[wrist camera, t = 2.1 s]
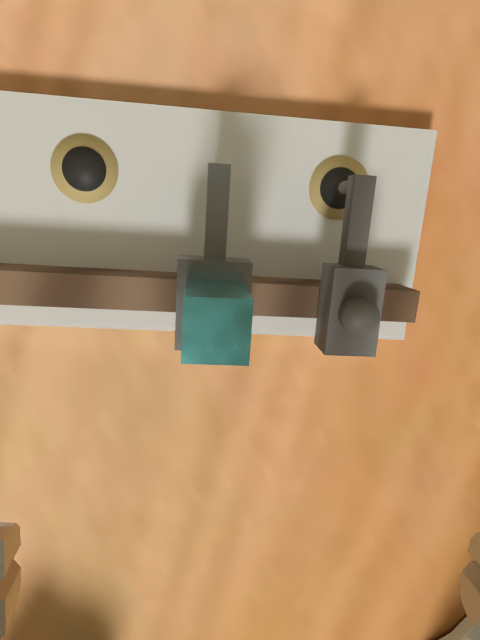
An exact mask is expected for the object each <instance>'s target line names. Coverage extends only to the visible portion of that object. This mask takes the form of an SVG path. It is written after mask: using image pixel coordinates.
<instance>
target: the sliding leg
mask: <svg viewBox="0 0 480 640" xmlns="http://www.w3.org/2000/svg"><path fill="white" fill-rule="evenodd" d="M230 175H231V164H219V163H208V173H207V194H206V216H205V238H204V256H198V255H180V254H179V256H178V259H177V289H176V320H175V350H181V364H208V365H241V366H249V358H250V345H251V332H252V318H253V305H254V299H253V297H252V296H251V285H252V271H253V263H252V262H251V261H250V260H249V259H248V258H234V257H226V245H227V227H228V210H229V193H230Z"/></svg>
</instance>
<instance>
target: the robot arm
mask: <svg viewBox="0 0 480 640" xmlns="http://www.w3.org/2000/svg"><path fill="white" fill-rule="evenodd" d="M20 545H21V542H20V527H19V526H18V525H17V524H16V523H4V522H0V639H1V638H2V637H3V636H4V635H5V634H6V632H7V630H8V628H9V625H10V623H11V621H12V618H13V615H14V612H15V608H16V604H17V601H18V597H19V591H20V583H21V567H20V566H19V565H18V564H17V562H16V561H15V560H14V557H15V555H16V553H17V551H18V549H19V547H20ZM468 552H469V554H470V556H471V558H472V560H473V561H472V562H471V563H470V564H469V565H468V566H467V567H466V568H465V569H464V570H463V571H462V575H461V580H460V585H459V589H460V595H461V602H462V605H463V608H464V610H465V612H466V615H467V617H465V618H464V619H463V620H462V621H461V622H460V623H459V624H458V625H457V627H456V628H455V629H454V630H453V631H452V632H450V633H449V634H447V635H446V636H444V637H442V638H441V639H439V640H480V532H477V533H476V534H475V535H474V536H473V537H472V539H471V541H470V545H469V548H468Z"/></svg>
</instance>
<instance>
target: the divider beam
mask: <svg viewBox="0 0 480 640" xmlns="http://www.w3.org/2000/svg"><path fill="white" fill-rule="evenodd" d="M376 179H377V176H371V175H359V174H355V175H350V176H348V180H347V181H342V182H341V183H340V184H339V186H338V190H339V192H340V193H341V194H346V201H345V209H344V218H343V226H342V235H341V243H340V252H339V260H338V263H323V266H322V276H321V280H316V279H297V278H278V277H259V276H252V285H251V296H252V297H253V299H254V305H253V316H274V317H297V318H317V321H316V330H315V339H314V343H315V344H316V346H317V347H318V348H319V349H320V350H321V351H322V352H323V354H324V355H338V356H368V357H375V355H376V349H377V342H378V335H379V328H380V321H391V322H414V323H415V319H416V313H417V307H418V301H419V295H420V291H417V290H414V289H412V288H409V287H406V286H403V285H401V284H393V283H386V280H387V273H388V271H387V270H384V269H381V268H378V267H375V266H372V265H365V262H366V254H367V247H368V239H369V232H370V224H371V217H372V209H373V202H374V194H375V186H376ZM176 289H177V272H163V271H144V270H125V269H106V268H87V267H68V266H49V265H29V264H10V263H0V305H17V306H41V307H64V308H87V309H111V310H134V311H157V312H176Z"/></svg>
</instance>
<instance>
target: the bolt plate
mask: <svg viewBox="0 0 480 640" xmlns="http://www.w3.org/2000/svg"><path fill="white" fill-rule="evenodd" d="M436 136H437V130H428V129H417V128H406V127H395V126H384V125H373V124H362V123H351V122H340V121H329V120H318V119H307V118H297V117H286V116H275V115H264V114H253V113H242V112H231V111H220V110H209V109H198V108H187V107H176V106H165V105H154V104H143V103H132V102H121V101H110V100H99V99H88V98H77V97H66V96H56V95H45V94H34V93H23V92H12V91H1V90H0V263H10V264H29V265H49V266H68V267H87V268H106V269H125V270H144V271H163V272H177V259H178V256H179V254H180V255H198V256H204V238H205V216H206V194H207V173H208V163H219V164H231V175H230V193H229V210H228V227H227V245H226V257H234V258H248V259H249V260H250V261H251V262H252V263H253V271H252V276H259V277H278V278H297V279H316V280H321V276H322V266H323V263H338V260H339V252H340V243H341V235H342V226H343V218H344V209H345V201H346V194H341V193H340V192H339V190H338V186H339V184H340V183H341V182H342V181H347V180H348V176H350V175H355V174H359V175H371V176H377V179H376V186H375V194H374V202H373V209H372V217H371V224H370V232H369V239H368V247H367V254H366V262H365V265H372V266H375V267H378V268H381V269H384V270H387V271H388V273H387V280H386V283H393V284H401V285H403V286H406V287H409V288H412V286H413V280H414V274H415V267H416V261H417V255H418V249H419V242H420V236H421V230H422V224H423V217H424V211H425V205H426V199H427V192H428V186H429V180H430V174H431V167H432V161H433V155H434V149H435V142H436ZM175 320H176V312H157V311H134V310H111V309H87V308H64V307H41V306H17V305H0V324H7V325H33V326H59V327H85V328H111V329H137V330H163V331H175ZM316 321H317V318H297V317H274V316H253V318H252V332H251V334H267V335H293V336H315V330H316ZM406 324H407V322H391V321H380V328H379V335H378V339H397V340H404V336H405V330H406Z"/></svg>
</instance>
